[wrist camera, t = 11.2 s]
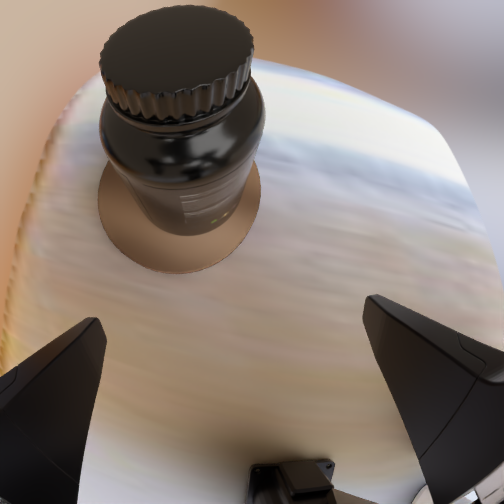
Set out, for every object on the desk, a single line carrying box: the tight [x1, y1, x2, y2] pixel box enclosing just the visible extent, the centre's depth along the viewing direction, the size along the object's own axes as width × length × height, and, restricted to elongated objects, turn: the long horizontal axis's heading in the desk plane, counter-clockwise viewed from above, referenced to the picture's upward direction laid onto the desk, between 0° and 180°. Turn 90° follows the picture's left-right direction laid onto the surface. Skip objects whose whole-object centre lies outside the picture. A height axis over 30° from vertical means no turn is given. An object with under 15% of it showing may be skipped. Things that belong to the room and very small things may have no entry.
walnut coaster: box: [98, 161, 261, 274], centre depth 19 cm, size 11×11×2 cm
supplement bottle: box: [99, 5, 265, 236], centre depth 13 cm, size 7×7×12 cm
